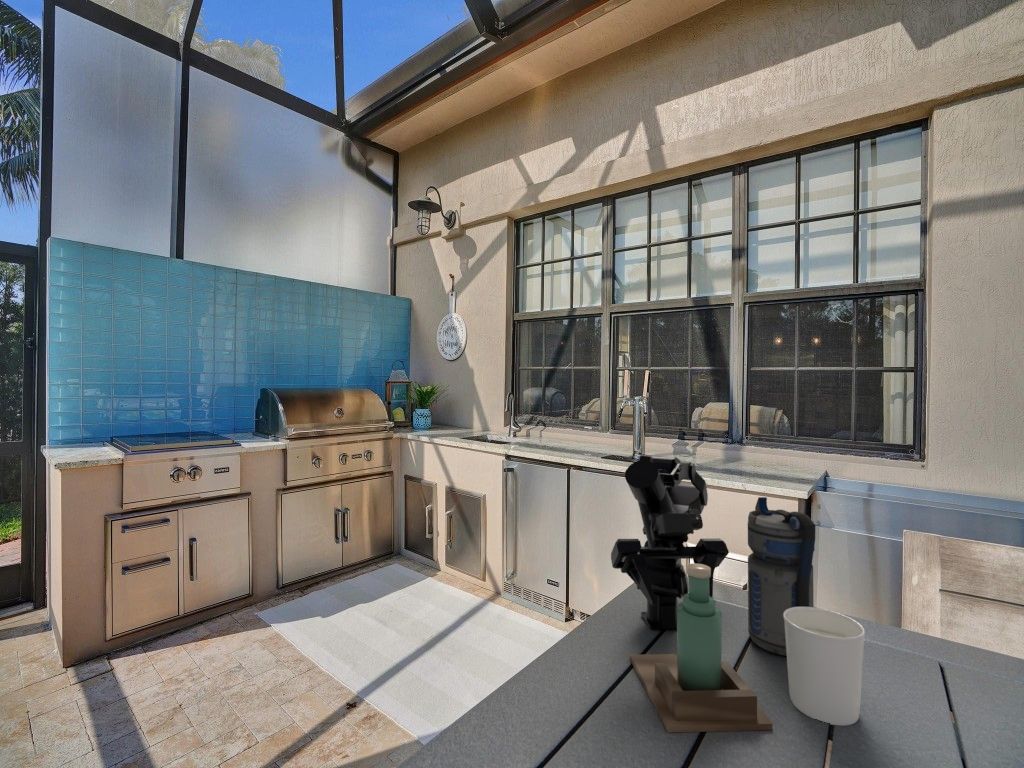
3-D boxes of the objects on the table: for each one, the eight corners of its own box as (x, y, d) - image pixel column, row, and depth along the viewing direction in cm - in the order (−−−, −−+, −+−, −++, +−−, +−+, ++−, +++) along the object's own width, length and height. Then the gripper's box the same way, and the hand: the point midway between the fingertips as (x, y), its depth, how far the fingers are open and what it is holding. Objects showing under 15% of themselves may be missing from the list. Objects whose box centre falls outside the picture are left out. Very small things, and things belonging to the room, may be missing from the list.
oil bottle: (668, 691, 71) (668, 566, 71) (691, 676, 75) (691, 557, 75) (707, 712, 67) (707, 578, 67) (729, 695, 70) (729, 568, 71)
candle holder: (826, 736, 63) (825, 642, 64) (768, 691, 73) (767, 610, 73) (884, 723, 66) (883, 633, 66) (820, 681, 75) (819, 603, 76)
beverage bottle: (784, 671, 78) (782, 513, 79) (734, 631, 91) (733, 496, 92) (840, 665, 80) (838, 511, 80) (783, 627, 93) (782, 495, 93)
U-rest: (629, 659, 81) (629, 636, 81) (712, 658, 82) (712, 635, 82) (667, 732, 64) (667, 702, 64) (772, 729, 64) (772, 700, 64)
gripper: (615, 491, 82) (635, 582, 71) (723, 491, 83) (759, 581, 72) (604, 525, 90) (619, 612, 79) (702, 525, 91) (732, 611, 80)
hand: (682, 604), depth 77 cm, fingers open, 9 cm apart
